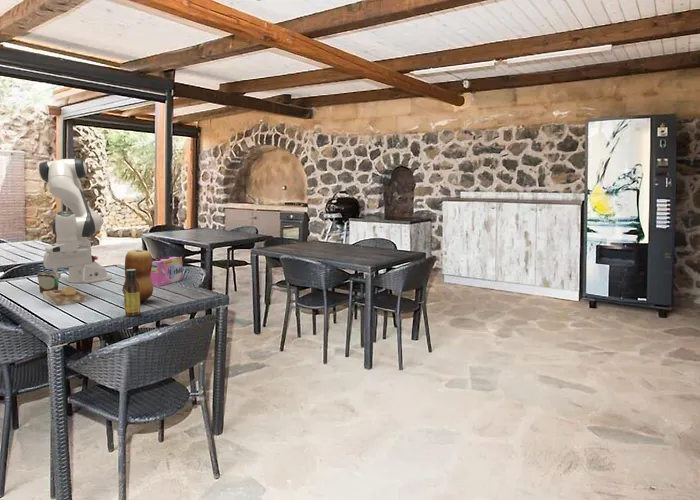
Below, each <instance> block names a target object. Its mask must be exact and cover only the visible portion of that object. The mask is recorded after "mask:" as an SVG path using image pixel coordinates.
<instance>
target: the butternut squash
mask: <svg viewBox="0 0 700 500" xmlns="http://www.w3.org/2000/svg"><path fill="white" fill-rule="evenodd" d="M152 260H153V257H152V254H151V252H150V251H148V250H146V249H145V250H142V249H132V250H131V249H130V250H129V251H127V253H126V255H125V259H124V281H123V285H122V292H123V294H124V286H125V283H126V280H127V274H126V270H127V269H136V281H137V282H138V283H139V290H140V303H144V302H145V301H147V300H148V299H149V298H151V296H152V295H153V293H154V286H153V284H152V281H151V277H150V274H151V268H152Z"/></svg>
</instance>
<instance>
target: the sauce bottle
mask: <svg viewBox="0 0 700 500" xmlns="http://www.w3.org/2000/svg"><path fill="white" fill-rule="evenodd" d="M126 274H127V280H126V283H125V286H124V293H123V298H124V302H123V303H124V314H125V315H126V316H130V317H132V316H133V317H134V316H135V317H136V316H139V315H141V302H140V290H139V283H138V282H137V281H136V269H127V270H126Z"/></svg>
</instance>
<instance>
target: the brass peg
mask: <svg viewBox="0 0 700 500" xmlns="http://www.w3.org/2000/svg"><path fill="white" fill-rule="evenodd" d="M61 289H62V296H64V297H67V296H75V295H76V291H77V290H76V286H73V285H69V286H62V287H61Z"/></svg>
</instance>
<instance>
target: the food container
mask: <svg viewBox="0 0 700 500" xmlns="http://www.w3.org/2000/svg"><path fill="white" fill-rule="evenodd" d="M36 277H37V280H38V287H39V293H40V294H43V292H44V291H52V290H59V286H60V285H59V282H60V281H59V280H60V278H61V277H56V273H55V272H54V271H47V272H46V271H44V272H37V275H36Z"/></svg>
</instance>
